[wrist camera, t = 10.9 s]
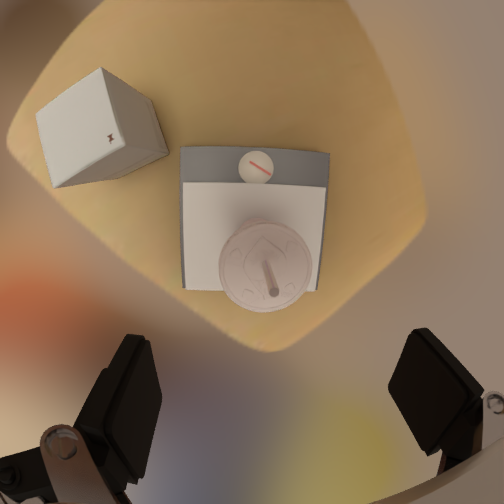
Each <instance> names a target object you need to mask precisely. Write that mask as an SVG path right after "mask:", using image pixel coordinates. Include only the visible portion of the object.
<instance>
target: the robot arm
mask: <svg viewBox="0 0 504 504" xmlns="http://www.w3.org/2000/svg"><path fill="white" fill-rule="evenodd" d="M388 390H389V393H390V394H391V396H392V398H393V400H394V401H395V403H396V405H397V407H398V408H399V410H400V411H401V414H402V415H403V417H404V419H405V421H406V423H407V424H408V426H409V428H410V430H411V432H412V433H413V435H414V437H415V439H416V441H417V442H418V444H419V446H420V448H421V450H423V451H425V453H426V455H427V456H430V455H432V454H434V453H436V452H438V451H439V450H440V449H441V450H442V451H443V452H442V456H441V460H440V464H439V468H438V472H437V475H436V477H434V478H432V479H430V480H428V481H426V482H424V483H422V484H419V485H417V486H415V487H413V488H410V489H408V490H405V491H403V492H400V493H398V494H395V495H392V496H390V497H387V498H384V499H381V500H378V501H375V502H372V503H369V504H504V395H503V394H501V393H499V392H496V391H491V392H488V393H487V394H485V396H484V397H483V399H482V398H481V397H480V396H481V395H482V393H483V392H484V389H483V388H482V386H481V385H480V384H479V383H478V382H477V381H476V380H475V378H474V377H473V376H472V375H471V374H470V373H469V371H468V370H467V369H466V368H465V367H464V366H463V365H462V364H461V363H460V362H459V360H458V359H457V358H456V357H455V356H454V355H453V354H452V353H451V352H450V351H449V350H448V349H447V348H446V347H445V345H444V344H443V343H442V342H441V341H440V340H439V339H438V338H437V337H436V336H435V335H434V334H433V333H432V332H431V331H430V330H429V329H428V328H420V329H414V330H413V331H412V332H411V334H409V336H408V338H407V340H406V343H405V346H404V348H403V351H402V354H401V356H400V358H399V361H398V363H397V366H396V368H395V371H394V373H393V375H392V377H391V380H390V382H389V384H388ZM161 403H162V393H161V389H160V385H159V381H158V377H157V372H156V368H155V364H154V360H153V354H152V350H151V345H150V341H149V340H145V338H144V336H142V335H134V334H127V335H126V336H125V337H124V339H123V341H122V343H121V345H120V346H119V348H118V350H117V352H116V353H115V355H114V357H113V359H112V361H111V363H110V364H109V366H108V368H104V369H103V370H102V371H101V373H100V375H99V377H98V378H97V380H96V382H95V384H94V386H93V388H92V390H91V392H90V394H89V395H88V397H87V399H86V401H85V403H84V405H83V407H82V410H81V411H80V413H79V415H78V417H77V419H76V421H75V423H74V425H73V427H71V426H69V425H64V424H60V425H54V426H52V427H50V428H48V429H47V430H46V431H45V432H44V433H43V435H42V436H41V440H40V446H39V447H36V448H33V449H30V450H27V451H23V452H20V453H16V454H13V455H9V456H5V457H2V458H0V504H132V502H131V501H130V499H129V498H128V496H127V495H126V493H125V492H124V490H126V486H127V482H128V483H132V484H136V485H137V483H138V479H139V478H141V479H142V478H143V477H144V475H145V470H146V466H147V461H148V456H149V452H150V448H151V444H152V439H153V435H154V431H155V427H156V423H157V419H158V415H159V411H160V407H161Z"/></svg>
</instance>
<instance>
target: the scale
mask: <svg viewBox="0 0 504 504" xmlns="http://www.w3.org/2000/svg"><path fill="white" fill-rule="evenodd" d="M329 161H330V153H323V152H313V151H303V150H292V149H279V148H262V147H235V146H190V147H181V149H180V243H181V267H182V284H183V288H186V290H212V291H224V289H223V287H222V285H221V282H220V278H219V264H218V261H219V257H220V253H221V250H222V248H223V246H224V244H225V243H226V241H227V239H228V238H229V237H230V236H231V235H232V234H233V233H234V232H235V231H236V230H238V229H239V228H240V227H241V225H242V224H243V223H244V222H245V221H247V220H249V219H251V218H262V219H264V220H267V221H275V222H278V223H282V224H285V225H287V226H288V227H290V228H292V229H294V230H295V231H296V232H297V233H298V234H299V235H300V236H301V237H302V238H303V240H304V242H305V243H306V245H307V247H308V248H309V251H310V253H311V257H312V263H313V269H312V276H311V280H310V282H309V285H308V287H307V288H306V290H305V291H315V290H317V287H318V280H319V273H320V265H321V256H322V248H323V238H324V228H325V218H326V206H327V193H328V179H329Z"/></svg>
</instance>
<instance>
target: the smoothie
mask: <svg viewBox="0 0 504 504" xmlns="http://www.w3.org/2000/svg"><path fill="white" fill-rule="evenodd" d="M218 264H219V278H220V282H221V285H222V287H223V289H224V291H225V293H226V294H227V295H228V297H229V298H230V299H231V300H232V301H233V302H235V303H236V304H237V305H239V306H241V307H243V308H245V309H247V310H250V311H254V312H273V311H277V310H281V309H283V308H285V307H287V306H289V305H291V304H292V303H294V302H295V301H296V300H297V299H299V297H300V296H301V295H302V294H303V293H304V292H305V290H306V288H307V287H308V285H309V282H310V280H311V276H312V269H313V263H312V257H311V253H310V251H309V248H308V247H307V245H306V243H305V242H304V240H303V238H302V237H301V236H300V235H299V234H298V233H297V232H296V231H295V230H294V229H292V228H290V227H288V226H287V225H285V224H282V223H278V222H275V221H267V220H264V219H262V218H251V219H249V220H247V221H245V222H244V223H243V224H242V225H241V227H240V228H239V229H238V230H236V231H235V232H234V233H233V234H232V235H231V236H230V237H229V238H228V239H227V241H226V243H225V244H224V246H223V248H222V250H221V253H220V257H219V261H218Z"/></svg>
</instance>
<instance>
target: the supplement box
mask: <svg viewBox="0 0 504 504" xmlns="http://www.w3.org/2000/svg"><path fill="white" fill-rule="evenodd" d="M36 120H37V125H38V130H39V135H40V140H41V144H42V148H43V152H44V156H45V160H46V164H47V168H48V172H49V176H50V179H51V183H52V187H53V188H61V187H67V186H73V185H79V184H84V183H90V182H97V181H104V180H111V179H118V178H120V177H122V176H124V175H126V174H128V173H130V172H132V171H135V170H137V169H139V168H141V167H143V166H145V165H147V164H149V163H151V162H153V161H155V160H158V159H160V158H162V157H164V156H166V155H168V154H169V152H168V149H167V146H166V143H165V140H164V137H163V134H162V131H161V129H160V126H159V123H158V120H157V117H156V114H155V111H154V108H153V105H152V102H151V100H150V99H148V98H147V97H145V96H144V95H143V94H141V93H140V92H138V91H137V90H135V89H134V88H132V87H131V86H129V85H128V84H127V83H125V82H124V81H122V80H121V79H119V78H118V77H116V76H114V75H113V74H111V73H110V72H108V71H107V70H105V69H104V68H102V67H100V68H98V69H96V70H95V71H93V72H92V73H90V74H89V75H87V76H85V77H84V78H82V79H81V80H79V81H78V82H77V83H75V84H74V85H72V86H71V87H69V88H68V89H67V90H65V91H64V92H62V93H61V94H60V95H58V96H57V97H56V98H55V99H53V100H52V101H51V102H49V103H48V104H47V105H46V106H44V107H43V108H42V109H41V110H40V111H38V112H37V113H36Z"/></svg>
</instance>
